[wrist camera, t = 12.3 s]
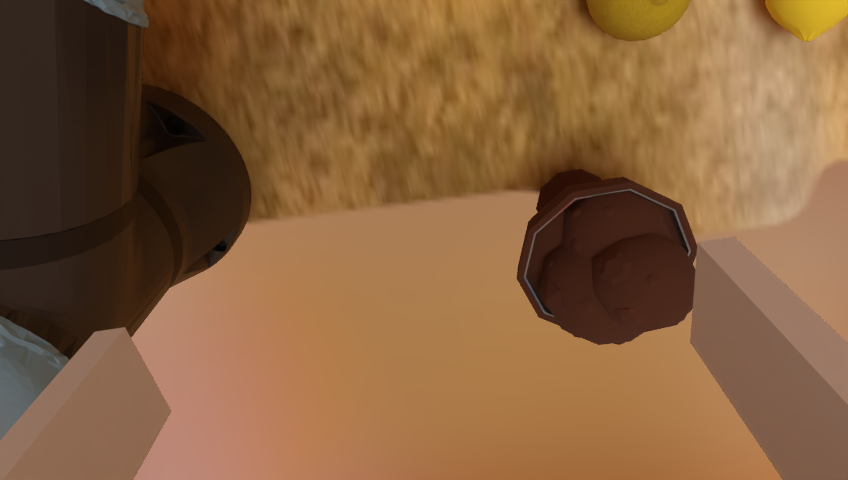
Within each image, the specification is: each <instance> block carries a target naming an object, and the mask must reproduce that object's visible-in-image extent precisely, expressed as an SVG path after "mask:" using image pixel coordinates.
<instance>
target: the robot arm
mask: <svg viewBox="0 0 848 480" xmlns="http://www.w3.org/2000/svg"><path fill="white" fill-rule="evenodd" d="M148 26H149V19H148V15H147V14H146V13H145V11H144V0H0V480H133V479H134V477H135V476H136V474H137V472H138V470H139V468H140V467H141V465H142V463H143V461H144V459H145V457H146V456H147V454H148V452H149V450H150V449H151V447H152V445H153V443H154V441H155V440H156V438H157V436H158V434H159V432H160V430H161V429H162V427H163V425H164V423H165V422H166V420H167V418H168V416H169V414H170V412H171V410H170V408H169V406H168V404H167V403H166V401H165V399H164V397H163V395H162V394H161V391H160V390H159V388H158V386H157V384H156V383H155V381H154V379H153V377H152V375H151V374H150V372H149V370H148V368H147V366H146V364H145V363H144V361H143V359H142V357H141V355H140V354H139V352H138V350H137V348H136V346H135V345H134V343H133V341H132V339H131V337H132V336H133V334H134V333H135V332H136V330H137V329H138V328H139V327H140V325H141V324H142V323H143V322H144V320H145V319H146V318H147V316H148V315H149V314H150V313H151V311H152V310H153V309H154V307H155V306H156V305H157V303H158V302H159V301H160V300H161V298H162V297H163V296H164V294H165V293H166V292H167V290H168V289H169V288H170V287H172V286H174V285H176V284H178V283H180V282H182V281H184V280H186V279H188V278H191V277H193V276H195V275H197V274H199V273H201V272H203V271H205V270H206V269H208V268H210V267H211V266H213V265H214V264H215V263H217V262H218V261H219V260H220V259H222V258H223V256H225V255H226V253H227V252H228V251H229V250H230V248H231V247H232V246H233V244H234V243H235V241H236V240H237V238H238V237H239V236H240V234H241V232H242V230H243V229H244V227H245V224H246V222H247V219H248V215H249V211H250V202H251V191H250V183H249V178H248V174H247V171H246V168H245V165H244V163H243V160H242V158H241V156H240V154H239V152H238V150H237V148H236V147H235V145H234V144H233V142H232V141H231V139H230V138H229V136H228V135H227V134H226V133H225V131H224V130H223V129H222V128H221V127H220V126H219V125H218V124H217V123H216V122H215V121H214V120H213V119H212V118H211V117H210V116H209V115H208V114H206V113H205V112H204V111H203V110H201V109H200V108H199V107H197V106H196V105H194V104H192V103H191V102H189V101H187V100H186V99H184V98H182V97H180V96H178V95H176V94H173V93H171V92H169V91H166V90H163V89H160V88H156V87H153V86H148V85H142V70H143V49H144V28H148ZM690 342H691V344H692V345H693V347H694V348H695V350H696V351H697V353H698V354H699V356H700V357H701V359H702V360H703V362H704V363H705V365H706V366H707V368H708V369H709V371H710V372H711V374H712V375H713V377H714V378H715V380H716V381H717V383H718V384H719V385H720V387H721V388H722V390H723V392H724V393H725V395H726V396H727V397H728V399H729V400H730V402H731V403H732V405H733V406H734V408H735V409H736V411H737V412H738V414H739V415H740V417H741V418H742V420H743V421H744V423H745V424H746V426H747V427H748V429H749V430H750V432H751V433H752V435H753V436H754V438H755V439H756V441H757V442H758V444H759V445H760V447H761V448H762V449H763V451H764V452H765V454H766V456H767V457H768V459H769V460H770V461H771V463H772V464H773V466H774V467H775V469H776V470H777V472H778V473H779V475H780V476H781V478H782V479H783V480H848V342H847V341H846V340H845V339H844V338H843V337H842V336H840V335H839V334H838V333H837V332H836V331H835V330H834V329H833V328H832V327H831V326H830V325H829V324H828V323H827V322H825V321H824V320H823V319H822V318H821V317H820V316H819V315H818V314H817V313H816V312H815V311H814V310H813V309H811V308H810V307H809V306H808V305H807V304H806V303H805V302H804V301H803V300H802V299H801V298H800V297H798V296H797V295H796V294H795V293H794V292H793V291H792V290H791V289H790V288H789V287H788V286H787V285H786V284H784V283H783V282H782V281H781V280H780V279H779V278H778V277H777V276H776V275H775V274H774V273H772V271H771V270H770V269H769V268H767V267H766V266H765V265H764V264H763V263H762V262H761V261H760V260H759V259H758V258H757V257H756V256H755V255H753V254H752V253H751V252H750V251H749V250H748V249H747V248H746V247H745V246H744V245H743V244H742V243H740V241H738V240H737V239H736V238H735V237H729V238H722V239H716V240H709V241H702V242H698V243H697V255H696V269H695V283H694V297H693V311H692V325H691V339H690Z"/></svg>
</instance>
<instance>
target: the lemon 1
mask: <svg viewBox="0 0 848 480" xmlns="http://www.w3.org/2000/svg"><path fill="white" fill-rule="evenodd" d="M690 1H691V0H586V2H587V6H588V10H589V13H590V15H591V17H592V19H593V21H594V22H595V24H596V25H597V26H598V27H599V28H600V29H601V30H602V31H603V32H605V33H607V34H608V35H610V36H612V37H614V38H617V39H621V40H626V41H638V40H646V39H649V38H652V37H655V36H658V35H660V34H661V33H663V32H665V31H666V30H668V29H670V28H671V27H672V26H673V25H674V24H675V23H676V22H677V21H678V20H679V19H680V18H681V17H682V15H683V14H684V12H685V11H686V10H687V8H688V6H689V3H690Z"/></svg>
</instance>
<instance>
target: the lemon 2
mask: <svg viewBox="0 0 848 480" xmlns="http://www.w3.org/2000/svg"><path fill="white" fill-rule="evenodd" d="M765 5H766V7H767V9H768V11H769V13H770V15H771V17H772V18H773V19H774V20H775V21H776V22H777V23H779V24H780V25H781V26H782V27H783V28H785V29H786V30H787V31H789V32H790V33H792V34H793V35H794V36H796V37H797V38H798V39H800V40H801V41H812V40H813V39H815V38H816V37H818V36H819V35H821V34H822V33H824V32H825V31H827V30H828V29H830V28H831V27H833V26H834V25H836V24H837V23H838V22H839V21H841V20H842V19H843V18H845V17H846V16H847V15H848V0H765Z"/></svg>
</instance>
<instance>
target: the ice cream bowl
mask: <svg viewBox="0 0 848 480" xmlns="http://www.w3.org/2000/svg"><path fill="white" fill-rule="evenodd" d="M536 209H537V211H538V213H537V214H536V215H535V216H533V217H532V219H531V220H530V221H529V222H528V226H527V230H526V234H525V239H524V243H523V247H522V252H521V256H520V261H519V265H518V272H517V280H518V282H519V283H520V285H521V287H522V289H523V290H524V292H525V294H526V296H527V297H528V299H529V301H530V303H531V304H532V306H533V308H534V310H535V312H536V313H537V315H538V317H539V318H542V319H544V320H547V321H549V322H552V323H554V324H557V325H559V326H560V327H561V328H562V329H563V330H565V331H567V332H569V333H571V334H573V335H574V336H575V337H579V338H580V337H581V338H583V339H586V340H588V341H591V342H593V343H596V344H598V345H601V344H610V343H614V344H622V343H625V342H628V341H631V340H633V339H635V338H636V337H638V336H639V335H640V334H642V333H643V332H647V331H651V330H656V329H661V328H665V327H670V326H674V325H677V324H678V323H679V322H680V321H682V320H684V319H685V317H686V315H687V314H688V313H689V312H690V311H691V310H692V309H693V297H694V283H695V268H694V266H693V262H694V260H695V257H696V255H697V244H696V242H695V239H694V236H693V234H692V231H691V228H690V225H689V223H688V220H687V217H686V215H685V212H684V209H683V207H682V205H681V204H679V203H677V202H675V201H673V200H671V199H669V198H667V197H665V196H663V195H661V194H658V193H656V192H654V191H652V190H650V189H648V188H646V187H644V186H641V185H639V184H637V183H635V182H633V181H631V180H629V179H627V178H624V177H620V178H612V179H607V180H601V178H599V177H597V176H595V175H593V174H590V173H588V172H586V171H584V170H582V169H579V170H573V171H568V172H562V173H558V174H557V175H556V176H554V177H553V178H552V179H551V180H550V181H549V182H548V183H547V184H546V185H544V186H543V187H542V188H541V190H540V195H539V199H538V203H537V207H536Z"/></svg>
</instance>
